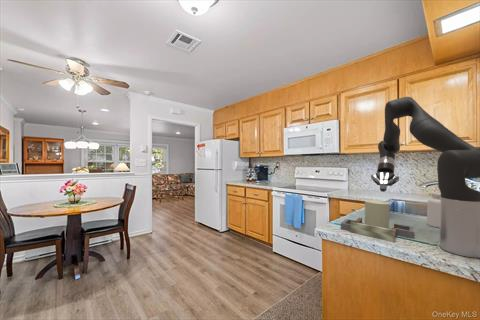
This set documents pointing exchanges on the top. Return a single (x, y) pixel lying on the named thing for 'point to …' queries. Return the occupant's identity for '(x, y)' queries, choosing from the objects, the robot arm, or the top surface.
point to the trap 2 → (405, 231)
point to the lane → (373, 230)
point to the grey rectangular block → (377, 213)
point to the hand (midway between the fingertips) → (382, 190)
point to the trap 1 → (346, 224)
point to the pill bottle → (434, 210)
